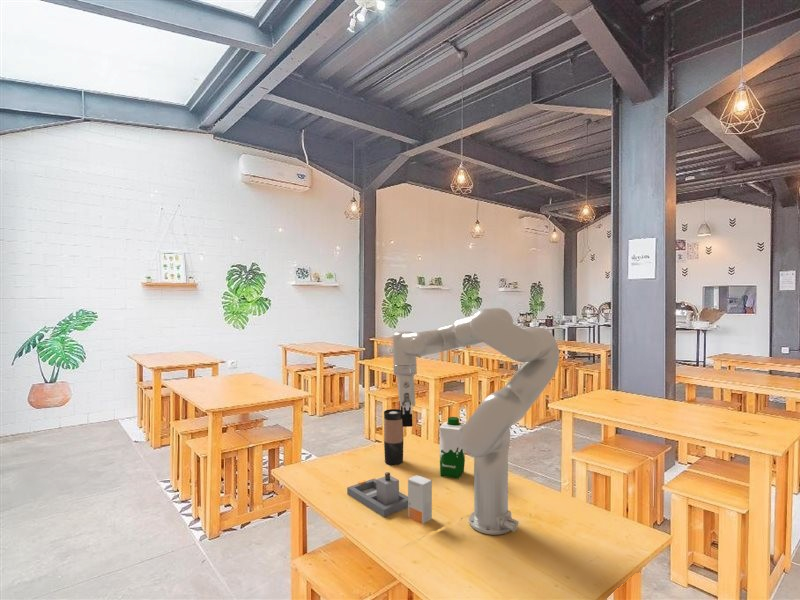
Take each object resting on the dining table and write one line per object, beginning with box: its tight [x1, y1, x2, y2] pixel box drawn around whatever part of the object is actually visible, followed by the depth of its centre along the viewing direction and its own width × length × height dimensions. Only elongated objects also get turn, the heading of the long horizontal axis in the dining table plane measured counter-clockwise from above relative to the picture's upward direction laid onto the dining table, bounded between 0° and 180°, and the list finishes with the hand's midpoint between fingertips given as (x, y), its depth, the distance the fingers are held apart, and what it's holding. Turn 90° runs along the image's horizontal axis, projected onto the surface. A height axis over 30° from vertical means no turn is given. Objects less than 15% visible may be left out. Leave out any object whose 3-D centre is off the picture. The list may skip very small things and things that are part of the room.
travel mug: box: [383, 408, 404, 466], centre depth 177 cm, size 8×8×20 cm
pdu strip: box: [346, 478, 408, 518], centre depth 144 cm, size 20×11×3 cm, turn 39°
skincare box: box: [407, 474, 433, 524], centre depth 132 cm, size 6×4×12 cm
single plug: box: [375, 472, 400, 506], centre depth 140 cm, size 5×5×10 cm
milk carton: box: [438, 416, 466, 480], centre depth 165 cm, size 9×9×20 cm
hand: (406, 422), depth 147 cm, fingers open, 9 cm apart
